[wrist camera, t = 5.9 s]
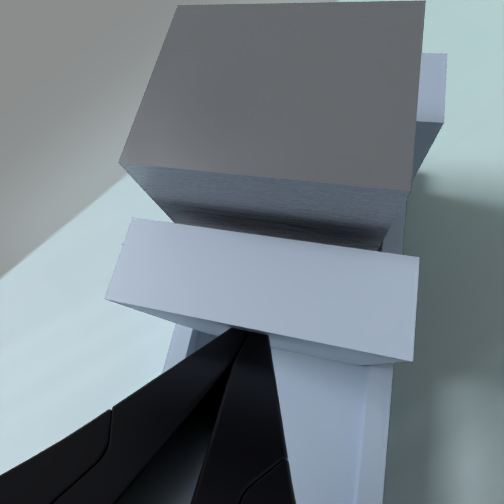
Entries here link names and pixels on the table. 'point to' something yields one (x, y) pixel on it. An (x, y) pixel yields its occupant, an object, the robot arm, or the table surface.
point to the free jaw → (272, 290)
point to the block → (283, 119)
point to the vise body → (341, 371)
